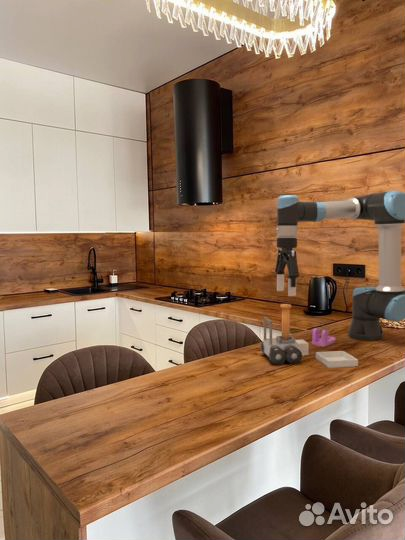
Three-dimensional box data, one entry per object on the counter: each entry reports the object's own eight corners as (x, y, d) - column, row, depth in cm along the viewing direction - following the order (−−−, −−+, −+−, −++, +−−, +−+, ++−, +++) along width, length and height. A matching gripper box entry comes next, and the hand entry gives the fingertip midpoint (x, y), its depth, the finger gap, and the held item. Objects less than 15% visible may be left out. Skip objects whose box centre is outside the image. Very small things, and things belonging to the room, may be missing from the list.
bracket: (324, 347, 175) (324, 330, 175) (312, 344, 179) (312, 328, 178) (337, 340, 185) (337, 325, 184) (325, 338, 189) (326, 323, 188)
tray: (343, 357, 160) (343, 350, 160) (357, 366, 149) (358, 359, 149) (315, 358, 159) (315, 352, 159) (328, 368, 148) (328, 361, 148)
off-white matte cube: (302, 351, 169) (302, 339, 169) (308, 355, 163) (308, 343, 163) (288, 352, 168) (288, 340, 168) (293, 356, 162) (293, 344, 162)
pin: (288, 339, 161) (289, 303, 160) (292, 342, 157) (292, 305, 156) (278, 339, 160) (279, 304, 159) (282, 342, 156) (282, 305, 155)
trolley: (289, 352, 167) (289, 314, 165) (302, 363, 153) (302, 321, 151) (260, 354, 165) (260, 315, 164) (270, 365, 151) (270, 323, 150)
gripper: (267, 237, 167) (267, 289, 169) (288, 237, 143) (287, 298, 144) (285, 237, 168) (284, 288, 170) (309, 237, 144) (307, 298, 145)
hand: (285, 293), depth 157 cm, fingers open, 13 cm apart
